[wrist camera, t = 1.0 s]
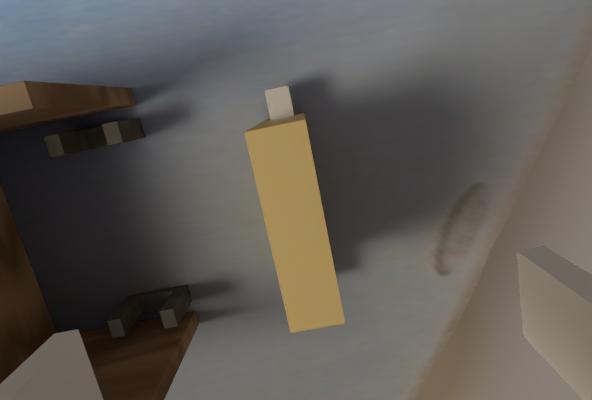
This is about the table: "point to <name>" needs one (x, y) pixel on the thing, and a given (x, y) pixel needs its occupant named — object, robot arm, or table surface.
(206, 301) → the table surface
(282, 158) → the yellow rectangular block
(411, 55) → the table surface
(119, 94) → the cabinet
